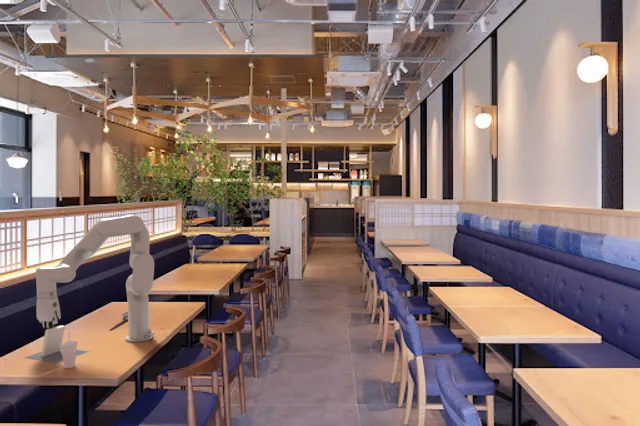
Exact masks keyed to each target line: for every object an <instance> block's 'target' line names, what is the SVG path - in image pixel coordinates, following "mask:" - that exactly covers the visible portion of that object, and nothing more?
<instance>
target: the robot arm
mask: <svg viewBox="0 0 640 426" xmlns="http://www.w3.org/2000/svg"><path fill="white" fill-rule="evenodd" d="M127 235H128V236H130V253H129V259H128V260H129V266H130V267H131V269H132V274H130V275H129V276H128V277H127V279H126V281H125V289H126V291H125V292H126V298H127V299H126V300H127V312H128V320H127V323H128V324H127V325H128V327H127V328H128V335H126V336H125V341H126V342H129V343H137V342H138V343H139V342H145V341H149V340H150V339H153V337H154V336H155V335H156V331H152V328H151V327H150V309H149V307H150V306H149V305H150V304H149V301H150V300H149V293H150V292H151V291H152V289H153V284H154V276H155V260H154V258H153V256H152V255H151V254H150V245H151V244H150V243H151V239H150V238H151V237H150V232H149V230H148V228H147V225H145V222H144V221H143V219H142V217H140V216H139V215H136V214H126V215H124V216H120V217H113V218H106V217H105V218H104V217H103V218H100V219H99V220H98V221H97V222H95V224H94V225H93V226H92V227H91V228H90V229H89V230H88V232H87V233H86V234H85V235H84V236H83V237H82V238H81V240H79V242H77V244H75V246H74V247H73V248H72V249H71V250H70V251H69V252H68V253H67V254H66V255H65V256H64V258H63V259H62V260H61V261H60V262H59V264H57V266H55V267H54V266H40V267H37V268H36V269H35V281H36V282H35V283H36V307H35V309H36V312H35V313H36V319H37V320H38V322H39V323H40V324H42V328H43V336H44V337H45V331H46V330H47V329H51V328H54V327H55V325H57V324H58V323H59V322H58V321H59V320H60V319H61V316H62V315H61V306H60V301H59V298H58V295H57V283H70V282H72V281H73V280H74V279H75V278H76V272H77V271H76V270H78V268H79V267H80V266H81V265H82V264H83V263H84V262H85V261H86V260H88V259H89V258H91V257H92V256H94V255H95V254H96V253H97V252H98V251H99V249H101V247H102V246H103V245H104V244H105V243H106V241H107V240H108V239H109V238H114V237H121V236H127Z"/></svg>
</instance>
